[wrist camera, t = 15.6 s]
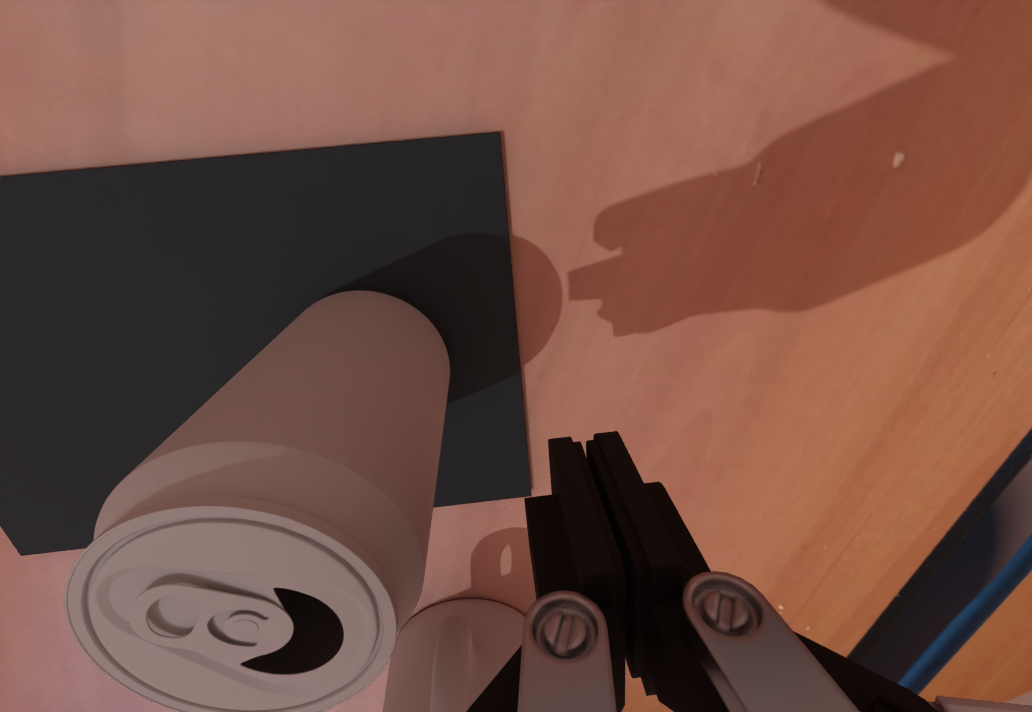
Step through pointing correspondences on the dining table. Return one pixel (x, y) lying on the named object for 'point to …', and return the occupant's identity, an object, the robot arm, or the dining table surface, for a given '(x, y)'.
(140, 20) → the dining table surface
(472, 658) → the mug
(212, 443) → the beverage can
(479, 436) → the mat
